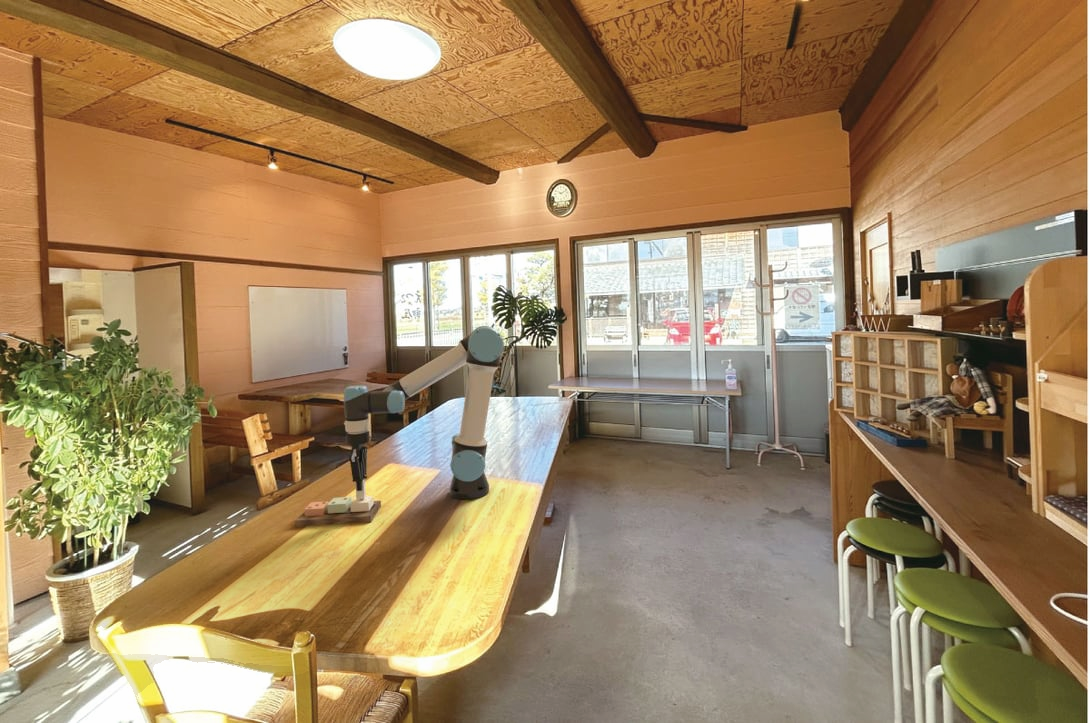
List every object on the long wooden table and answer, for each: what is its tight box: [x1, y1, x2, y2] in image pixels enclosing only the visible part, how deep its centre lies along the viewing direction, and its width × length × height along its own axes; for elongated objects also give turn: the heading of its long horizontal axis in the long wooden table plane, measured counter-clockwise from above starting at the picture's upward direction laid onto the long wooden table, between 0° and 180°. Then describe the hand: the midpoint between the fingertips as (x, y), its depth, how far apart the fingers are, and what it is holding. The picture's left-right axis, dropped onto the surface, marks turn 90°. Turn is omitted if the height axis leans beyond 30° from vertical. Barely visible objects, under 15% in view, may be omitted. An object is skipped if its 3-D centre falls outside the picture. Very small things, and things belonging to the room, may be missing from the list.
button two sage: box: [327, 496, 353, 513], centre depth 160 cm, size 6×6×3 cm
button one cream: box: [350, 495, 375, 512], centre depth 161 cm, size 6×6×3 cm
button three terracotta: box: [303, 501, 330, 516], centre depth 160 cm, size 6×6×3 cm
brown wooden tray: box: [295, 500, 382, 528], centre depth 161 cm, size 24×13×2 cm, turn 95°
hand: (361, 498), depth 161 cm, fingers closed
